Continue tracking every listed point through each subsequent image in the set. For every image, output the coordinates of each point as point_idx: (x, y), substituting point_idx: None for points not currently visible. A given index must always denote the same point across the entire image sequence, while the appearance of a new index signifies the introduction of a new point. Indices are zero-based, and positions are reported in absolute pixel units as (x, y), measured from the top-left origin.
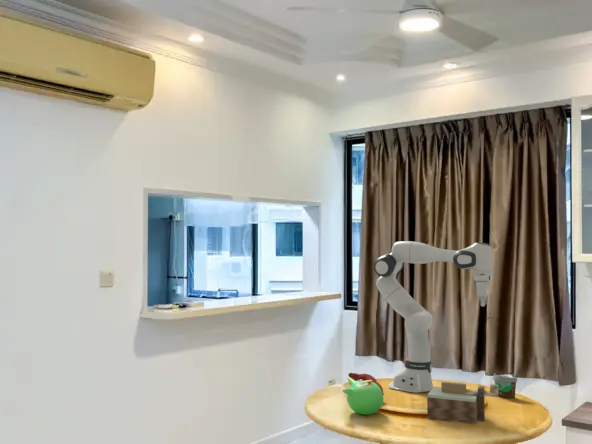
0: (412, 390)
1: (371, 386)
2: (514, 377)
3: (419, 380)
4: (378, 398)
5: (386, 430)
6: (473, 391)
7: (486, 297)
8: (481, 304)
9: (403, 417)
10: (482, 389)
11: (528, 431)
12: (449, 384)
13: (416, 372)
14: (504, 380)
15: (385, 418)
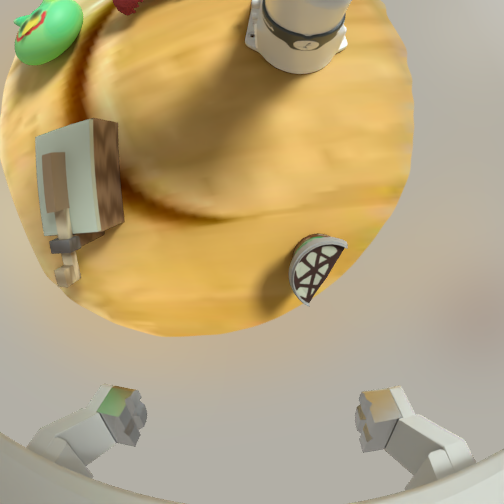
0: (246, 33)
1: (19, 44)
2: (303, 302)
3: (256, 35)
4: (26, 63)
5: (11, 112)
6: (57, 229)
7: (414, 474)
8: (99, 401)
9: (60, 98)
10: (51, 252)
11: (86, 307)
12: (44, 174)
13: (260, 18)
14: (290, 274)
15: (49, 78)
